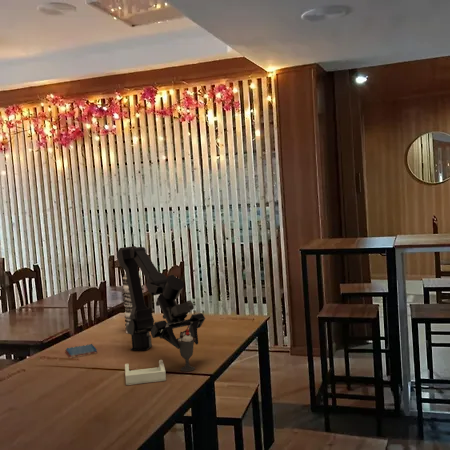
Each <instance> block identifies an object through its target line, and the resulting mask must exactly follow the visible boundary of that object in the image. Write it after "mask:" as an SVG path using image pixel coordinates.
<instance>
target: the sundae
mask: <svg viewBox="0 0 450 450" xmlns="http://www.w3.org/2000/svg"><path fill="white" fill-rule="evenodd" d="M186 327H187V328H186V329H185V330H183V331H180V333H179V337H176V339H177V341H178V343H179V346H180V348H179V349H178V350H179V353H180V357H182V358H183V360H185V365H184V366H182V367H180V368H179V370H180V371H182V372H192V371H195V370H196V368H195V366H191V365H190V358H191V357H192V356H193V354H194V344H195V342H194V341H195V340H196V338H193V337H192V336H191V333H190V332H189V328H188V327H190V326H189V325H188V326H186Z"/></svg>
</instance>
